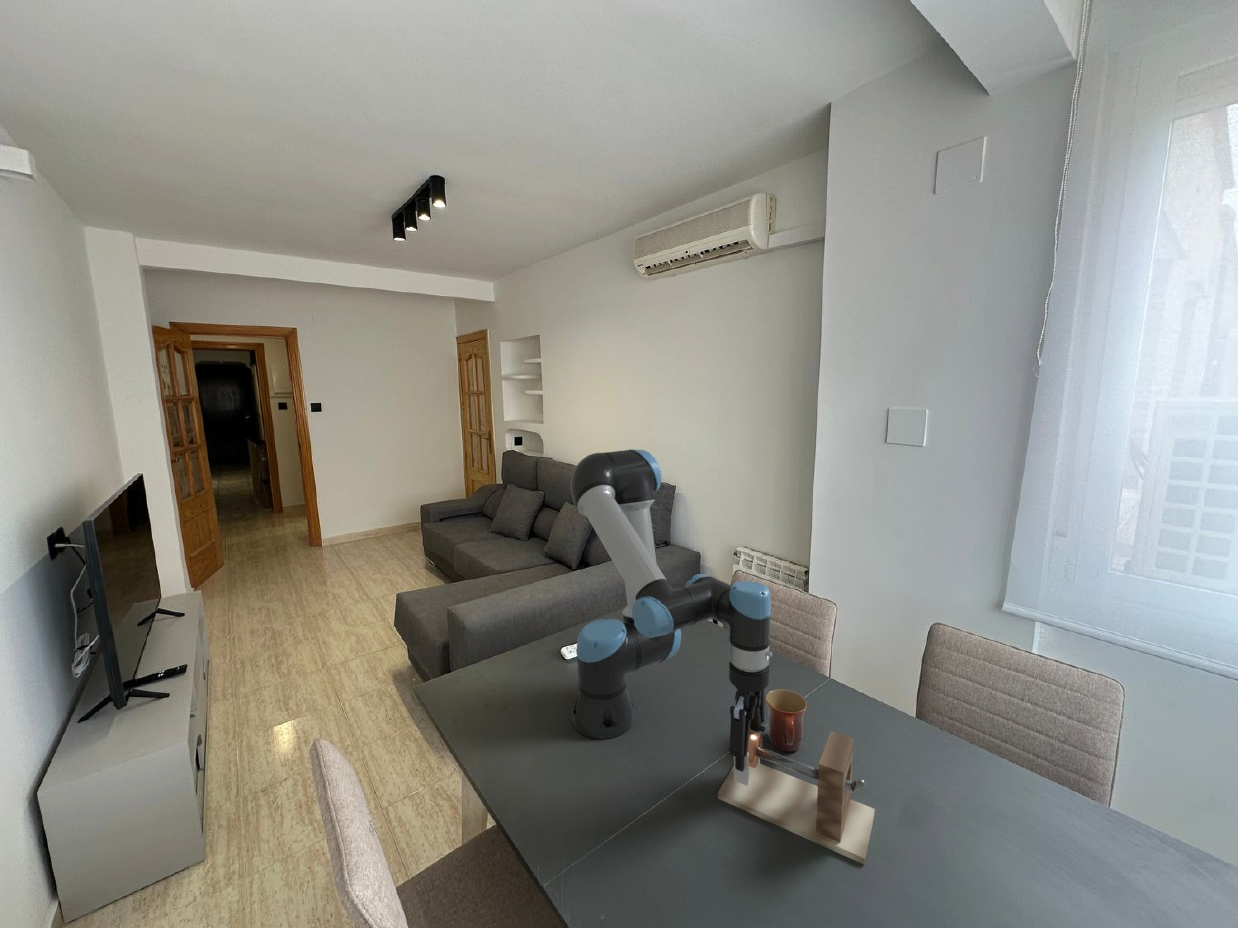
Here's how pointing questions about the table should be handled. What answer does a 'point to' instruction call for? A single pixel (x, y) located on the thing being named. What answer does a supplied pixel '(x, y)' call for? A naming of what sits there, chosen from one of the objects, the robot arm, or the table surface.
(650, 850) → the table surface
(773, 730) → the mug
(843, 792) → the eye block
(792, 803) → the board
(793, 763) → the copper and grey mallet
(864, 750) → the table surface
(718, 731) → the table surface
